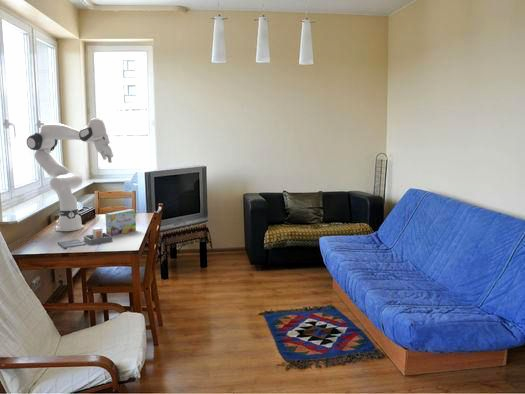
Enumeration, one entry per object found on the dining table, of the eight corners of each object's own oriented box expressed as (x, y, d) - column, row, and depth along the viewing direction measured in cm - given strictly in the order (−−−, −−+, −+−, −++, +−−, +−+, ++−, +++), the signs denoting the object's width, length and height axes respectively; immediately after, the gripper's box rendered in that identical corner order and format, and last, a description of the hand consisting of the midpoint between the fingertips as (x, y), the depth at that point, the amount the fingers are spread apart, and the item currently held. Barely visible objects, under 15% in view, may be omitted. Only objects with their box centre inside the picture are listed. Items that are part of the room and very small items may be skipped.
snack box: (111, 237, 296) (110, 214, 294) (106, 236, 299) (104, 213, 297) (136, 230, 314) (135, 209, 311) (131, 229, 317) (129, 208, 314)
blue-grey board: (58, 243, 280) (58, 242, 280) (78, 240, 287) (78, 239, 287) (64, 249, 267) (64, 247, 267) (85, 245, 274) (85, 244, 274)
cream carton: (93, 240, 284) (92, 228, 283) (100, 239, 286) (99, 227, 285) (95, 242, 280) (94, 229, 279) (103, 241, 283) (102, 228, 281)
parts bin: (84, 241, 285) (83, 235, 284) (105, 238, 293) (105, 232, 292) (90, 245, 274) (90, 239, 274) (112, 242, 282) (112, 236, 281)
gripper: (103, 146, 308) (108, 165, 306) (91, 138, 288) (97, 159, 286) (112, 144, 308) (117, 162, 307) (100, 135, 288) (106, 156, 286)
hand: (107, 161), depth 296 cm, fingers open, 8 cm apart
